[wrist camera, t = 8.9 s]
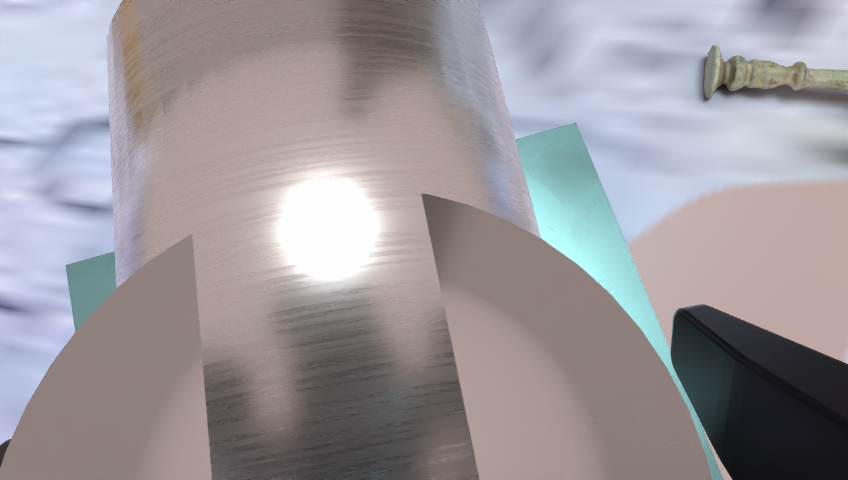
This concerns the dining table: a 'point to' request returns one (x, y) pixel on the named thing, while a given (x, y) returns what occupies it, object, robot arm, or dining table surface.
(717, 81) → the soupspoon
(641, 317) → the duct collar
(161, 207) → the metal bottle
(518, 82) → the dining table surface
